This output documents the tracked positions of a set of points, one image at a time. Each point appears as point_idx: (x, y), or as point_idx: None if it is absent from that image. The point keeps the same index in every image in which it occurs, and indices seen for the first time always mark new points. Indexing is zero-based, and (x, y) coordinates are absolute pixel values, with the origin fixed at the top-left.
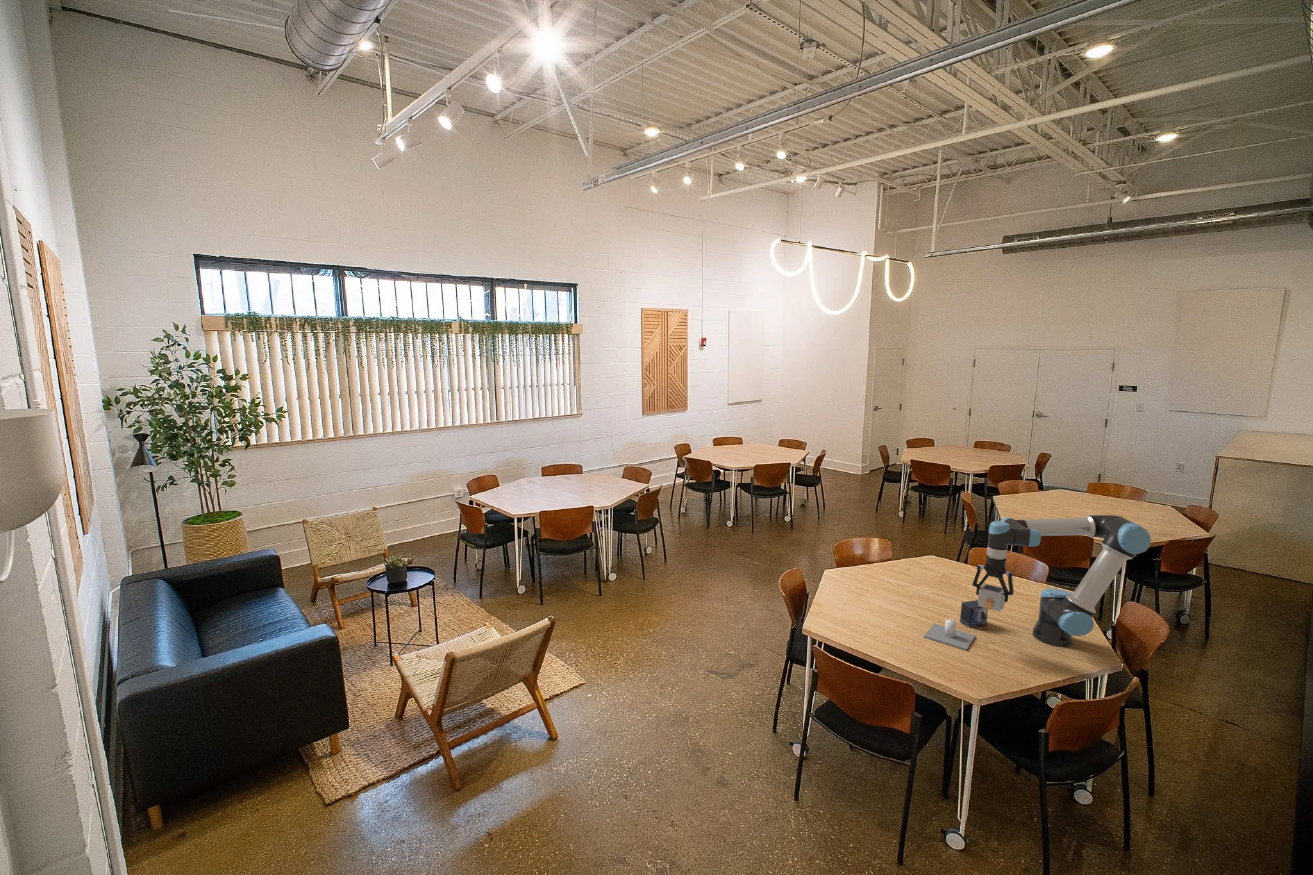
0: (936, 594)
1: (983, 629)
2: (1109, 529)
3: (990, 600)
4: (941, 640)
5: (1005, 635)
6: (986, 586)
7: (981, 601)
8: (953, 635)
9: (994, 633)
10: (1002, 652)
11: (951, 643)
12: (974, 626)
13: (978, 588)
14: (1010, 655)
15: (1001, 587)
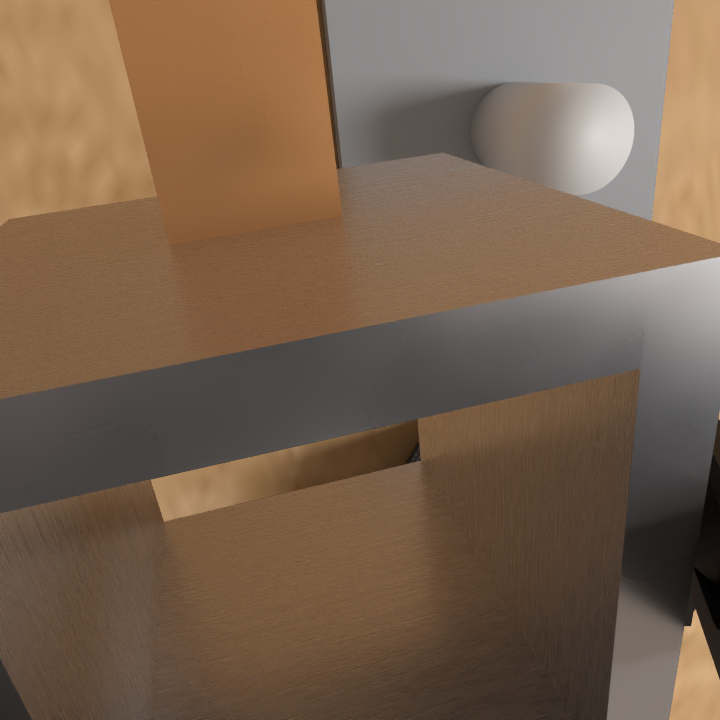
0: (691, 646)
1: (352, 464)
2: None
3: (240, 229)
4: None
5: (205, 501)
6: (556, 714)
7: (434, 176)
8: (486, 108)
9: (273, 469)
10: (82, 200)
11: None
12: (412, 453)
13: (718, 435)
14: (5, 197)
15: None
